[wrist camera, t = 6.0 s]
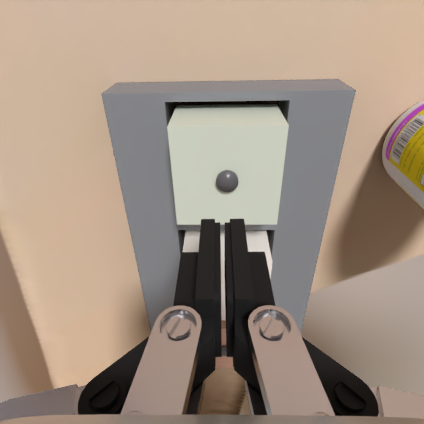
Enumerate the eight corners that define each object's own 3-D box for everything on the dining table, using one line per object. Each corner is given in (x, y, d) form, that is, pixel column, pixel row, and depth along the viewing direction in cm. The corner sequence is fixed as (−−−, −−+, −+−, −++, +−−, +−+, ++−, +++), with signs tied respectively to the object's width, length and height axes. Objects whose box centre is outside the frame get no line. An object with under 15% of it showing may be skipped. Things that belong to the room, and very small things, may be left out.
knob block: (276, 103, 18) (289, 127, 15) (268, 191, 22) (277, 227, 18) (176, 105, 19) (166, 128, 15) (183, 191, 22) (176, 227, 18)
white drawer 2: (265, 225, 23) (273, 265, 20) (260, 281, 27) (266, 324, 23) (186, 225, 24) (180, 264, 20) (191, 281, 27) (186, 323, 23)
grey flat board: (338, 79, 19) (355, 90, 17) (289, 334, 34) (294, 360, 31) (116, 82, 20) (101, 93, 17) (161, 333, 34) (156, 359, 32)
